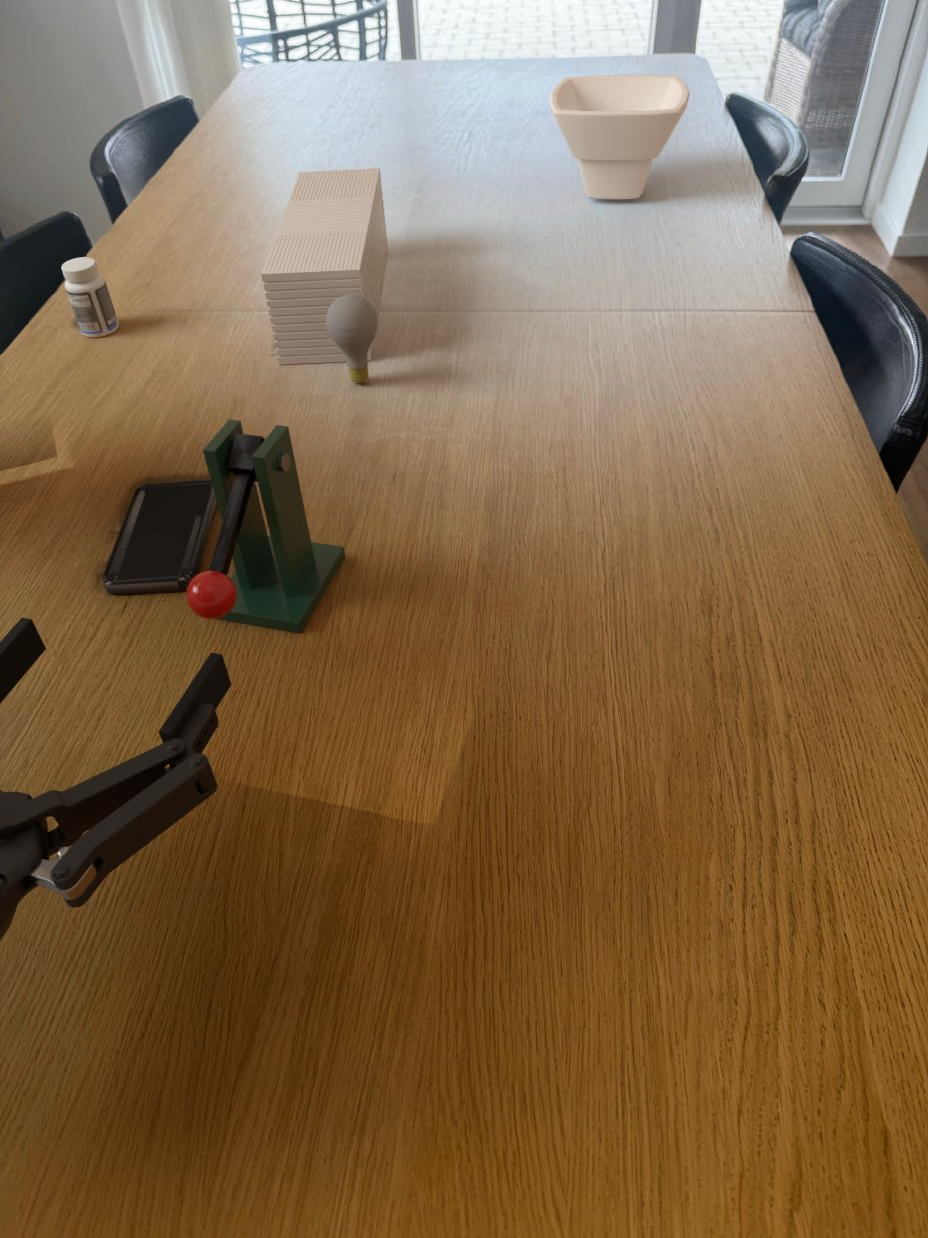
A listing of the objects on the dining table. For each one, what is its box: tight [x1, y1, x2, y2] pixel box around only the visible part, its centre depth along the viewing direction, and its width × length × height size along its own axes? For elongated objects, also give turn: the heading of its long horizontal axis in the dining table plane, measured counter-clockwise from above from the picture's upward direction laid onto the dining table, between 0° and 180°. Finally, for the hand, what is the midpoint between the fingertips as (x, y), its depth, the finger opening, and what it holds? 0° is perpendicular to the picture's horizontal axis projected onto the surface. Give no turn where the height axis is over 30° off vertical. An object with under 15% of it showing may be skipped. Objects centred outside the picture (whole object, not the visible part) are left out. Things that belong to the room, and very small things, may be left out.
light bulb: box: [326, 294, 379, 385], centre depth 104 cm, size 6×5×10 cm
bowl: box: [549, 73, 691, 200], centre depth 140 cm, size 19×19×14 cm
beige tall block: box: [261, 167, 389, 365], centre depth 119 cm, size 32×11×11 cm, turn 0°
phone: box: [101, 479, 218, 596], centre depth 88 cm, size 8×1×15 cm
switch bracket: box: [202, 418, 347, 634], centre depth 77 cm, size 10×8×15 cm
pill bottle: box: [61, 256, 120, 339], centre depth 117 cm, size 5×5×8 cm
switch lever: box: [185, 433, 266, 620], centre depth 72 cm, size 14×4×4 cm
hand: (125, 650), depth 62 cm, fingers open, 13 cm apart
